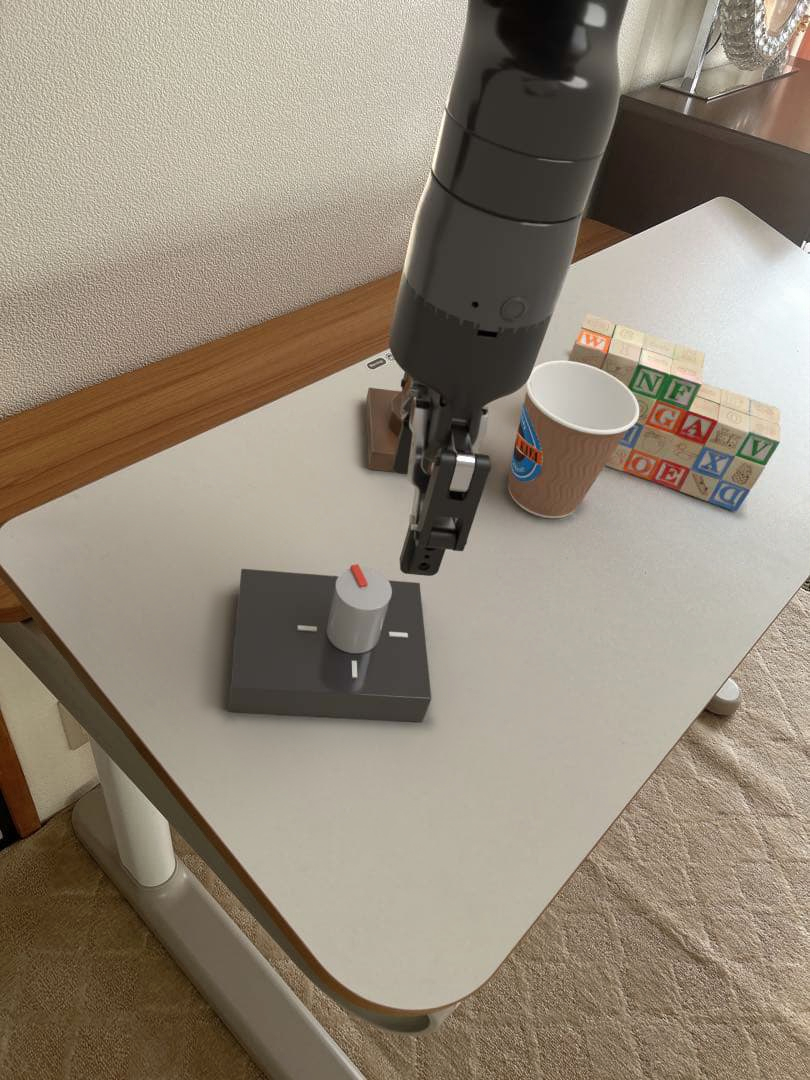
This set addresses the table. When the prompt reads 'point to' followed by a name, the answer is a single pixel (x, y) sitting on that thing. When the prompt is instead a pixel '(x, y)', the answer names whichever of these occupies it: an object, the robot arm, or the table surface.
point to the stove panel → (324, 653)
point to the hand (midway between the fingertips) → (412, 518)
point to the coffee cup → (567, 435)
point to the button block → (383, 427)
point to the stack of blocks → (681, 416)
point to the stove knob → (358, 609)
